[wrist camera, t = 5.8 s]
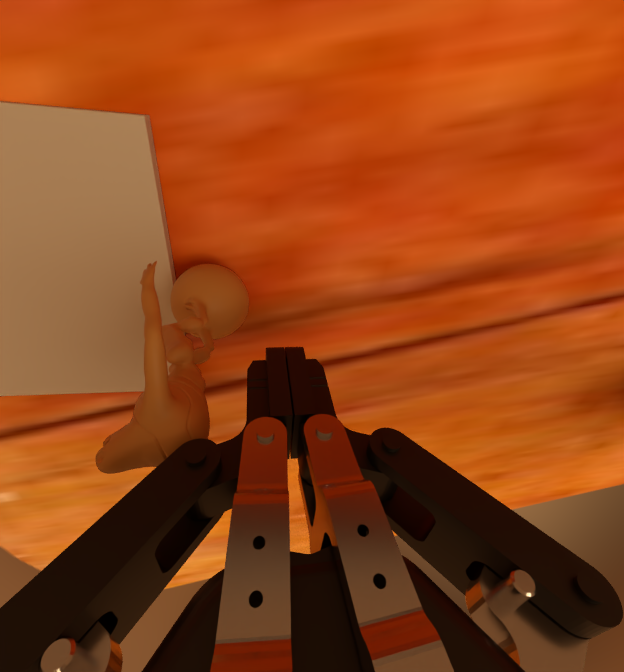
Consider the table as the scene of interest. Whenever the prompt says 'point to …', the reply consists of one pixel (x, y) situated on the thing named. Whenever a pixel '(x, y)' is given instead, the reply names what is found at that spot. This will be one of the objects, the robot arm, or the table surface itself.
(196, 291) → the figurine
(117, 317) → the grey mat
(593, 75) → the table surface
